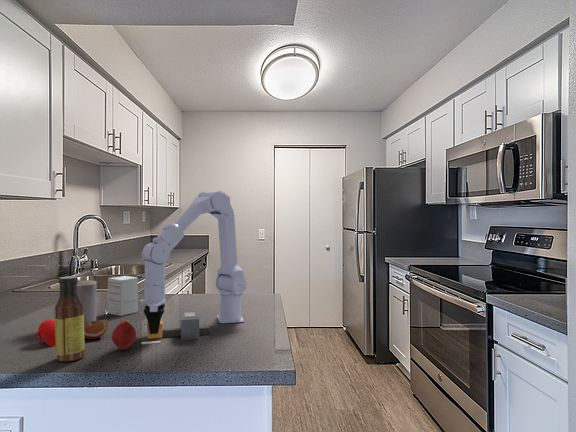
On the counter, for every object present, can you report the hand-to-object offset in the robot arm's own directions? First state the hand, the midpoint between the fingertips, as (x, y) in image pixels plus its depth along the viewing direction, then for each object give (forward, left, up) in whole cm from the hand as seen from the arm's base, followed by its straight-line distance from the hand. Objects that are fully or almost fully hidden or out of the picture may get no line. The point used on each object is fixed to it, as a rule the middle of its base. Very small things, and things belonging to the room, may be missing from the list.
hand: (154, 331), depth 122 cm
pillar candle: (-17, -23, -2) cm, 29 cm away
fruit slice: (-2, -17, -2) cm, 17 cm away
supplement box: (-33, -12, -2) cm, 35 cm away
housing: (0, +10, -1) cm, 10 cm away
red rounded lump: (+11, -7, -2) cm, 13 cm away
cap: (0, -27, -2) cm, 27 cm away
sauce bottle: (+15, -19, -2) cm, 24 cm away
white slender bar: (+6, -1, -1) cm, 7 cm away
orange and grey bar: (0, +7, -1) cm, 7 cm away
